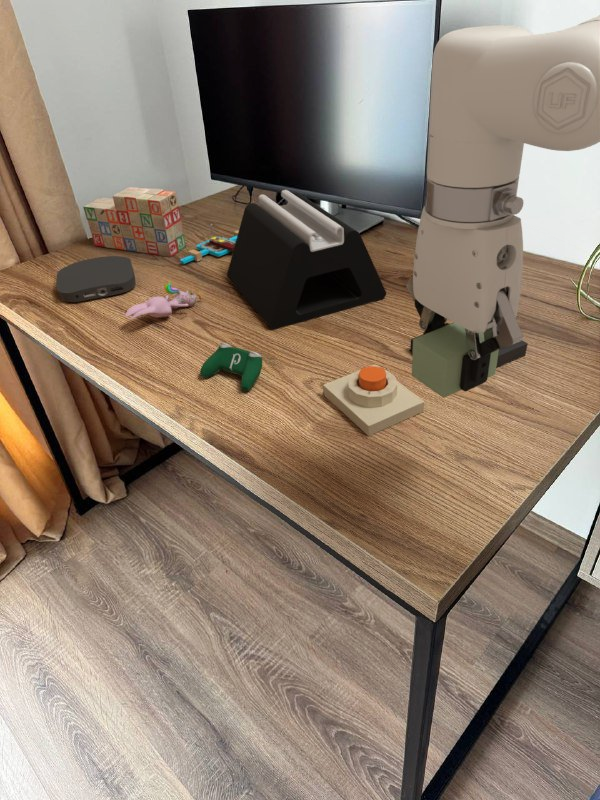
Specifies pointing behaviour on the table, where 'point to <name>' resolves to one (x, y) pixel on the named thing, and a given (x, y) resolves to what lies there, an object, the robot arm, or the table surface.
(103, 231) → the stack of blocks
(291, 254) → the device stand
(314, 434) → the table surface
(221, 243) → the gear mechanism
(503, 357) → the dock
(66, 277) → the media streaming box
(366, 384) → the button
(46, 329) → the table surface
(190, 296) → the pink unicorn figurine
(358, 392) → the beige button base
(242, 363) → the gaming controller
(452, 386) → the sage green block
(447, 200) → the robot arm
